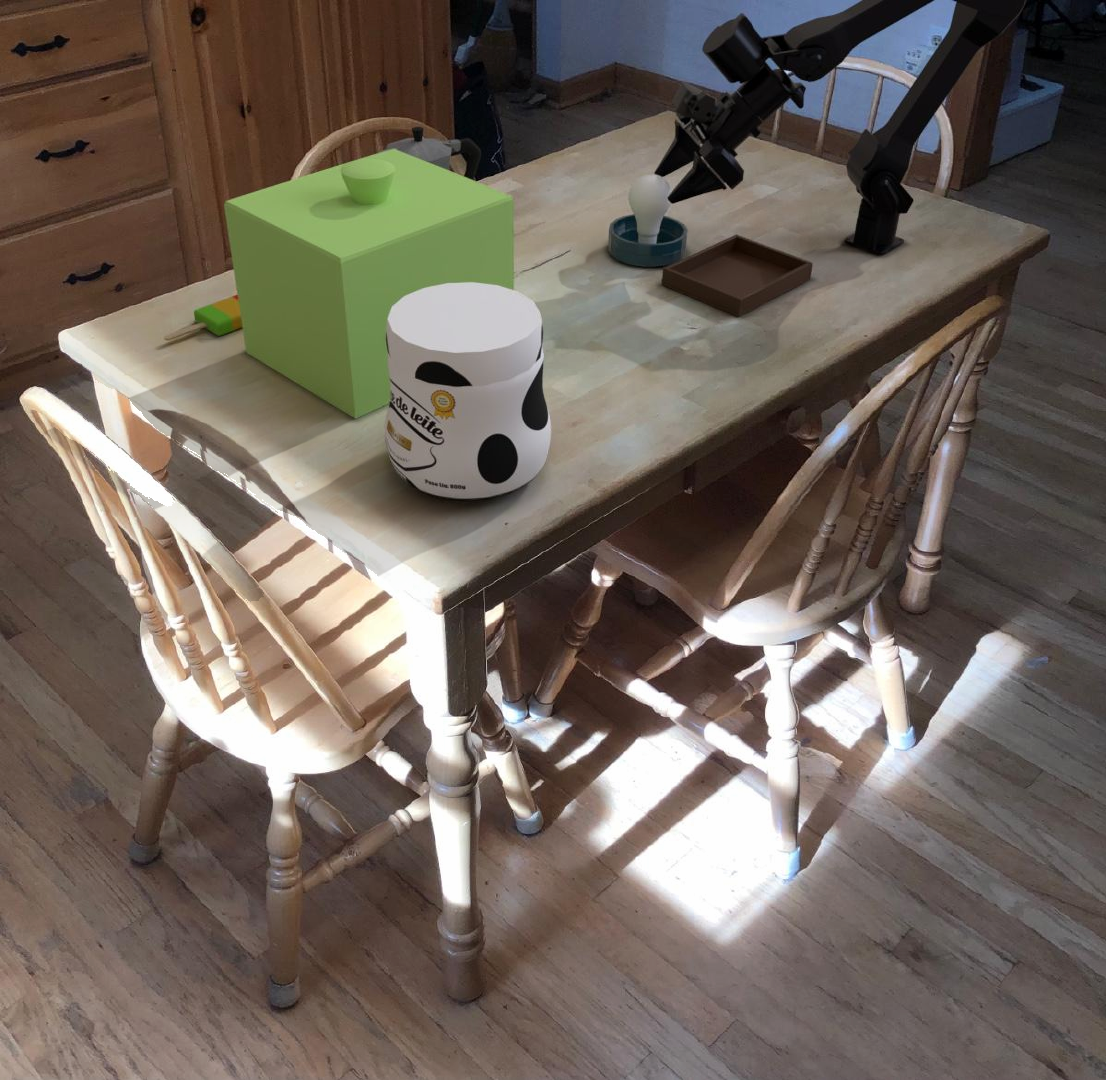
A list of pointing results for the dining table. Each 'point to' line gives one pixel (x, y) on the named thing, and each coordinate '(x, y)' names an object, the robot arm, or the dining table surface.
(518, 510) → the dining table surface
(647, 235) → the lightbulb
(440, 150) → the coffeepot
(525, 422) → the milk container
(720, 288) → the tray
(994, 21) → the robot arm
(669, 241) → the bowl
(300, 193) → the canister
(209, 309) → the popsicle
